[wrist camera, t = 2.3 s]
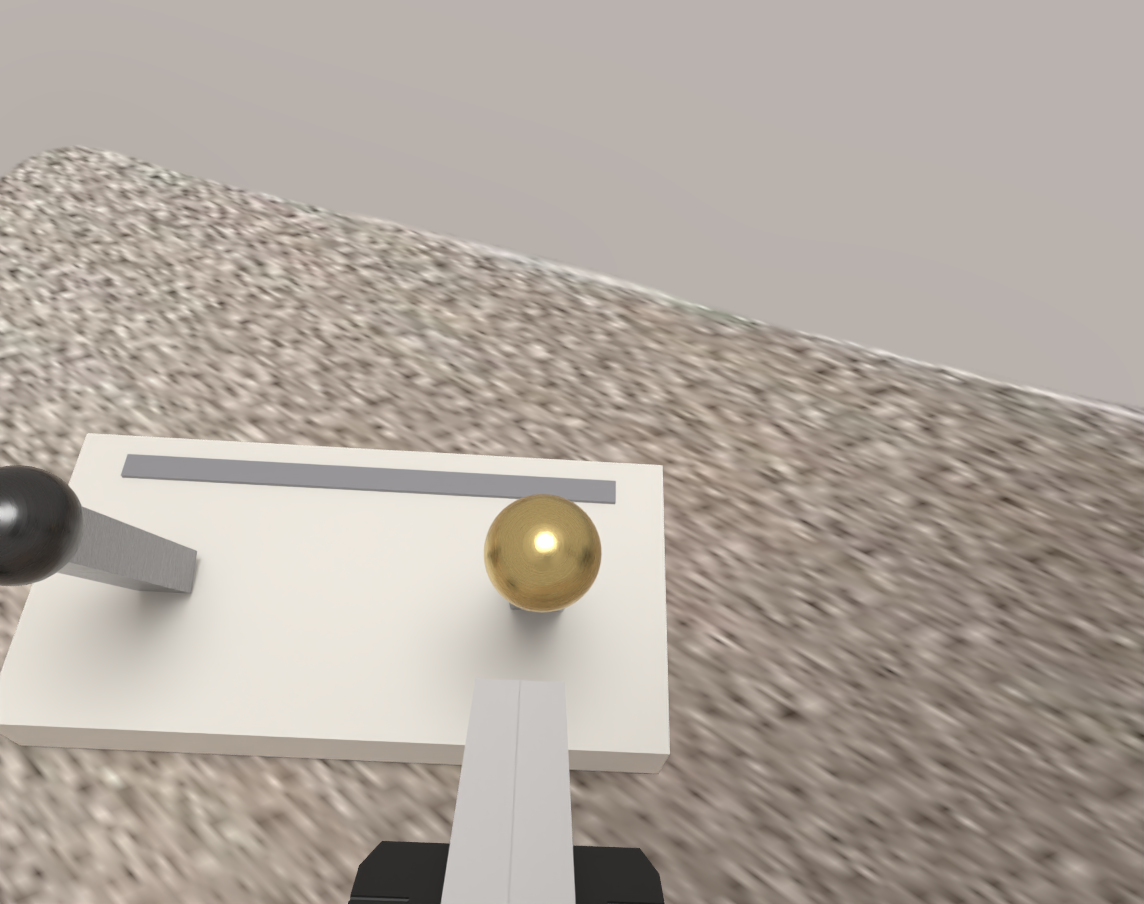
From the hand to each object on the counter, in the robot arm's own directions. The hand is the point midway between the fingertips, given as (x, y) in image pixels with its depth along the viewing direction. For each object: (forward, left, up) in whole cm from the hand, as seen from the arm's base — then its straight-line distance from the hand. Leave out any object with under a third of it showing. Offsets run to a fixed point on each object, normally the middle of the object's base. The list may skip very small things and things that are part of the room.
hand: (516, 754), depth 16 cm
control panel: (+12, -3, -21) cm, 24 cm away
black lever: (+17, +2, -18) cm, 25 cm away
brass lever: (+7, -8, -18) cm, 20 cm away
